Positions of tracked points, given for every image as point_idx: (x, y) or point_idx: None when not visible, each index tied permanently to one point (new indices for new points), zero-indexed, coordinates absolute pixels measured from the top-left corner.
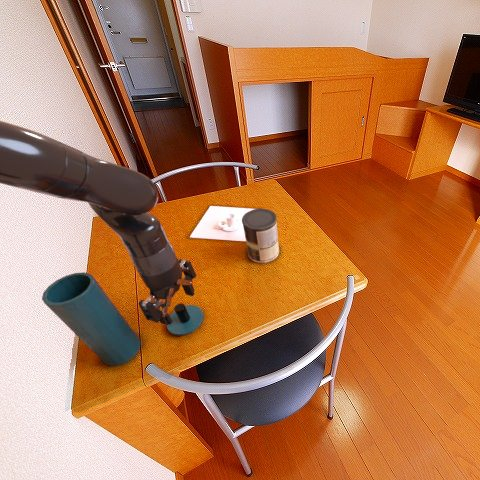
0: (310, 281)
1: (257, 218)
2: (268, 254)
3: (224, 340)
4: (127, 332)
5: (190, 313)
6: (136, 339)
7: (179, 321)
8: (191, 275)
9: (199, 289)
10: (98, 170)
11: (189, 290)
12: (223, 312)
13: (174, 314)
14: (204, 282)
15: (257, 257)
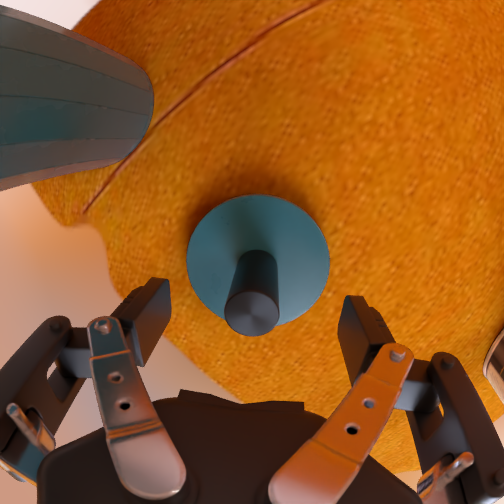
0: (406, 450)
1: None
2: (495, 389)
3: (225, 387)
4: (49, 172)
5: (287, 275)
6: (109, 156)
7: (240, 252)
8: (413, 425)
9: (414, 230)
10: None
11: (348, 355)
12: (318, 356)
13: (268, 211)
14: (444, 232)
15: (498, 364)
